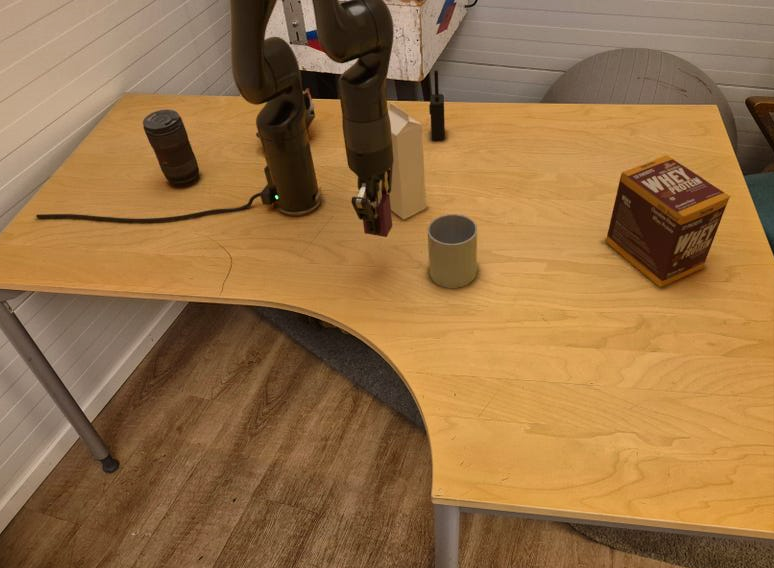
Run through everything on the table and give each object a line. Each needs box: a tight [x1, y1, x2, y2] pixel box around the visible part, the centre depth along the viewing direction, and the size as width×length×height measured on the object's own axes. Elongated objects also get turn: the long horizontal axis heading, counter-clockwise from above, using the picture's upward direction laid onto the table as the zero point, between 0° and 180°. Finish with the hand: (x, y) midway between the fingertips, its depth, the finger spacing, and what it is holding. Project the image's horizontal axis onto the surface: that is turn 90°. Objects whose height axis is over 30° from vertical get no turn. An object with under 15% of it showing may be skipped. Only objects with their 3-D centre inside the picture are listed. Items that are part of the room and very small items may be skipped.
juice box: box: [362, 192, 393, 238], centre depth 110 cm, size 4×3×9 cm
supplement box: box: [605, 155, 731, 288], centre depth 112 cm, size 10×15×16 cm
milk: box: [387, 102, 427, 221], centre depth 124 cm, size 6×6×22 cm
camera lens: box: [142, 109, 200, 189], centre depth 138 cm, size 8×8×15 cm
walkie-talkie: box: [428, 70, 446, 142], centre depth 144 cm, size 5×3×15 cm
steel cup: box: [427, 213, 478, 289], centre depth 114 cm, size 9×9×10 cm
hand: (377, 225), depth 113 cm, fingers closed on juice box, 3 cm apart
